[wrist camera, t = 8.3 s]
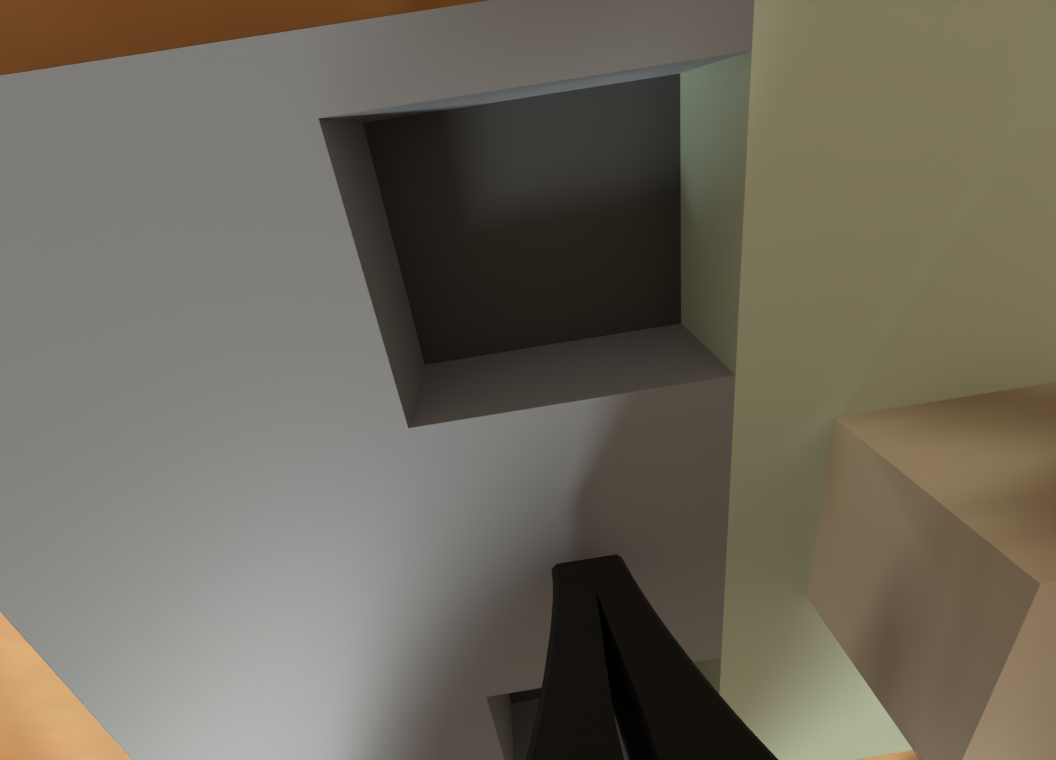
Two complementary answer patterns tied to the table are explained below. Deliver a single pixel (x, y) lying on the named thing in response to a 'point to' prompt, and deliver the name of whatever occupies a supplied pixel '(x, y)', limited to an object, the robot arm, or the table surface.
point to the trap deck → (354, 372)
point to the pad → (856, 287)
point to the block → (948, 569)
